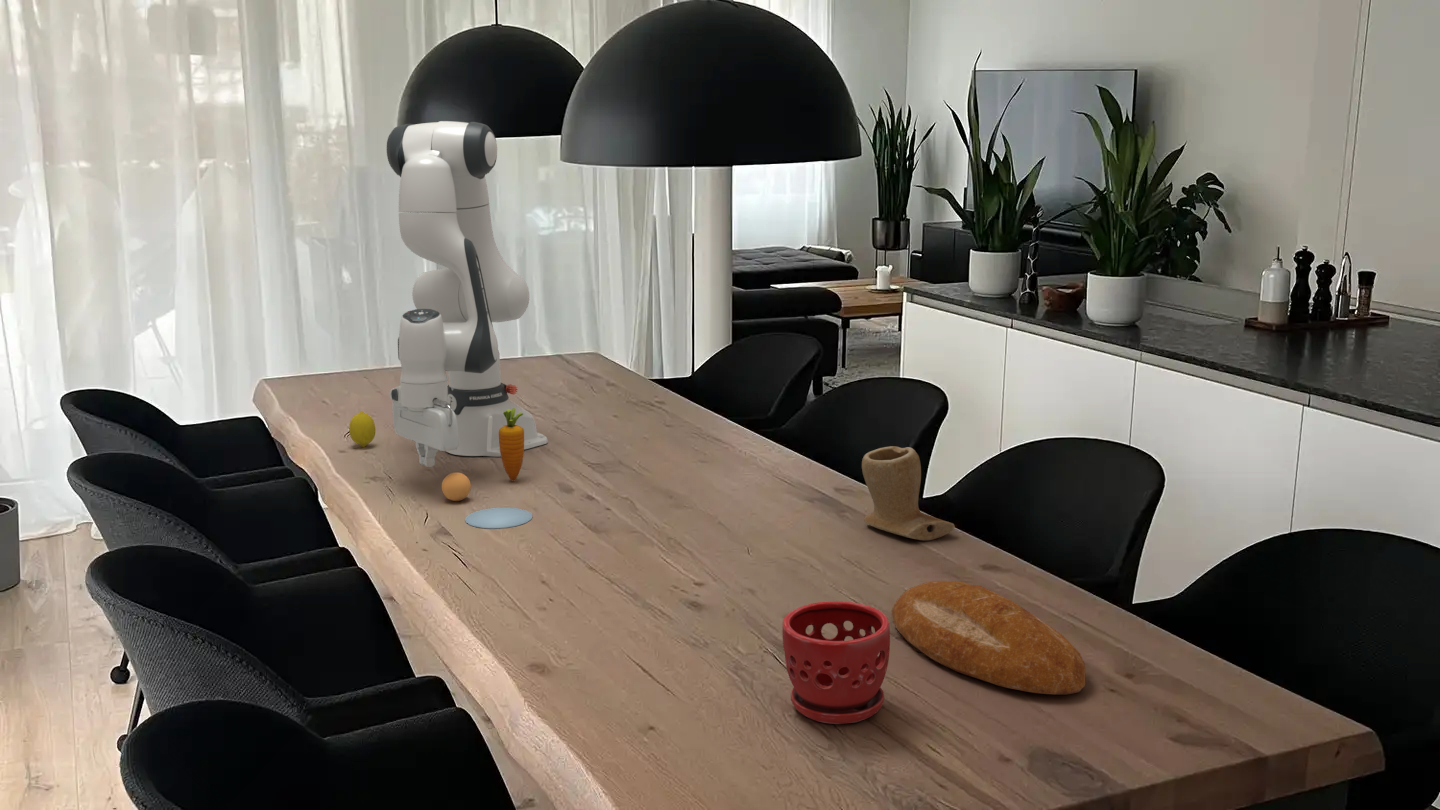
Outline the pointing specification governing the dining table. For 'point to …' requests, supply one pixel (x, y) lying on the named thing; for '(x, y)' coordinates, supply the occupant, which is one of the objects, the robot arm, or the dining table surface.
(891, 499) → the tan boot-shaped piece
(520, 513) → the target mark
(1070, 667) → the bread
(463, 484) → the ball
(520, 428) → the carrot
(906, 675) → the dining table surface
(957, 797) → the dining table surface
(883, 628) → the plant pot
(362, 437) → the lemon
